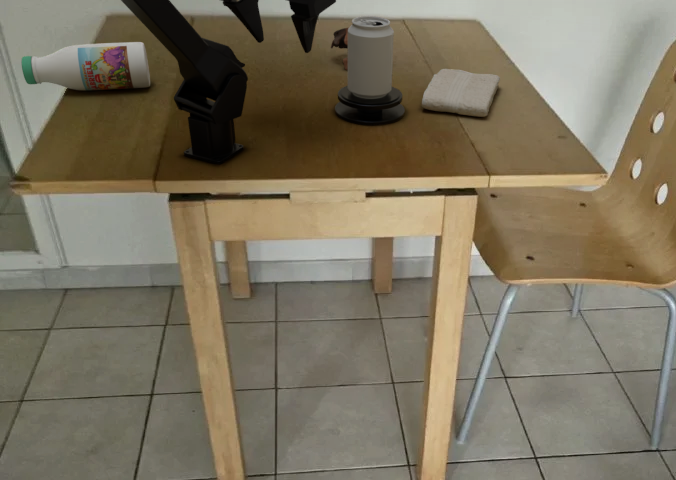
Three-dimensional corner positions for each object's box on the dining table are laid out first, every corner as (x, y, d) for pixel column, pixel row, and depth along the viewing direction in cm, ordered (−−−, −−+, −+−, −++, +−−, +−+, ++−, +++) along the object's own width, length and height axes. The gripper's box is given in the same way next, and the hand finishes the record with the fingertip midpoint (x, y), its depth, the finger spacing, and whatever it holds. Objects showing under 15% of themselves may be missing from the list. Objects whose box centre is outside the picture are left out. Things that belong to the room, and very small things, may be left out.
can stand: (386, 130, 117) (387, 110, 115) (322, 116, 120) (321, 97, 118) (415, 107, 126) (416, 88, 124) (354, 94, 129) (354, 76, 127)
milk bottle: (151, 79, 131) (33, 86, 126) (144, 36, 127) (22, 41, 122) (151, 92, 125) (27, 100, 120) (143, 48, 121) (14, 53, 116)
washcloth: (499, 86, 136) (501, 70, 134) (488, 121, 122) (490, 103, 120) (438, 79, 138) (439, 63, 136) (419, 112, 124) (421, 95, 122)
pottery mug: (329, 72, 140) (323, 29, 139) (342, 79, 149) (336, 39, 148) (389, 61, 137) (383, 17, 137) (398, 69, 147) (392, 28, 146)
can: (394, 100, 118) (397, 26, 112) (349, 101, 117) (349, 26, 110) (388, 84, 125) (390, 13, 118) (345, 85, 123) (345, 13, 117)
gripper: (349, -73, 100) (363, 34, 111) (247, -85, 108) (269, 15, 119) (303, -43, 93) (322, 66, 104) (197, -59, 101) (225, 45, 112)
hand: (284, 46), depth 110 cm, fingers open, 9 cm apart
